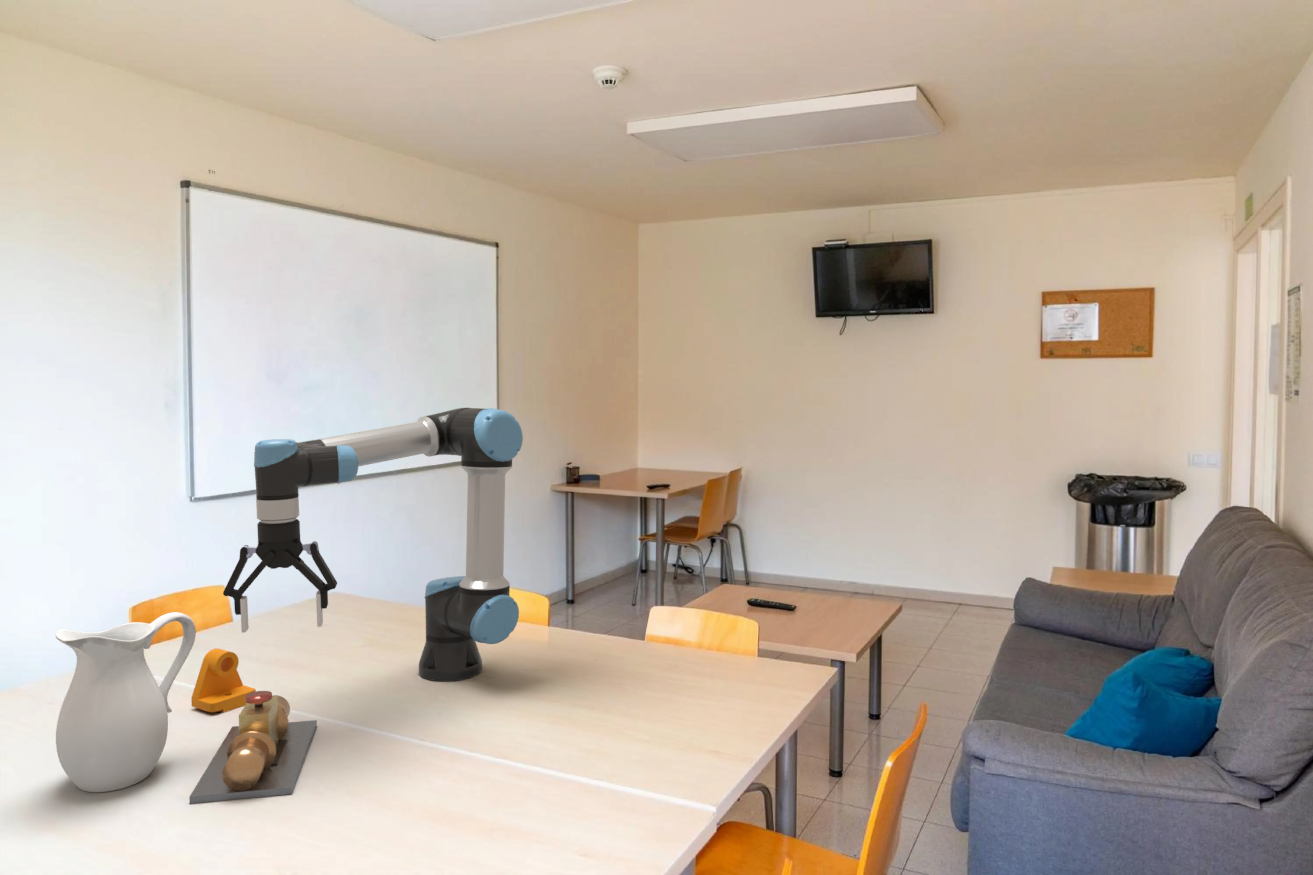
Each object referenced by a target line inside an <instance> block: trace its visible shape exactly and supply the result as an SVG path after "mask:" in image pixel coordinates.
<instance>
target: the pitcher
mask: <svg viewBox="0 0 1313 875" xmlns="http://www.w3.org/2000/svg"><path fill="white" fill-rule="evenodd" d="M173 622H178V623H180V625H181V627H182V634H183V635H182V641H181V644H180V647H179V650H178V651H177V655H176V656H175V658H174V660H173V661H172V663H171V666H170V668H169V669H168V671H167V673H166V674H165V675H164V677H163V679H162V681H161V683H160V685H159V684H158V682H157V680H156V678H155V677H154V674H153V673H152V670H150V667H149V665H148V663H147V661H146V658H145V652H144V651H145V650H147V649H148V650H149V649H150V648H151V645H152V640H153V638H154V636H155V635H156V634H157V633H158V632H159V631H160V630H161V629H162V628H164V626H166V625H168V624H170V623H173ZM196 634H197V630H196V625H195V622H194V621H193V619H192V618H191V617H190V616H189V615H187V614H185V613H183V612H176V611H175V612H173V611H172V612H168V613H164V614H163V615H160V616H158V617H157V618H156V619H154V620H153V621H151V622H150V623H147V622H138V621H137V622H134V621H133V622H127V623H124V624H120V625H116V626H114V627H111V628H109V629H106V630H102V631H94V632H93V631H89V632H87V631H79V630H71V629H67V628H66V629H64V628H63V629H61V628H60V629H59V630H57V631H56V633H55V638H56V639H57V640H58V641H60V642H61V643H62V644H64V645H66V646H67V647H69V648H71V649H72V651H73V652H74V653H75V656H76V666H75V669H74V670H75V671H74V673H73V674H74V675H73V676H72V679H71V682H70V685H69V687H68V689H67V692H66V694H65V696H64V698H63V699H64V700H63V701H62V705H61V707H60V711H59V714H58V718H57V723H56V729H55V730H56V731H55V745H56V746H55V747H56V753H57V757H58V761H59V763H60V765H61V768H62V769H63V771H64V773H65V774H66V776H67V778H69V780H70V781H71V782H72V783H73V784H74V785H75V786H76V787H77V788H78V789H80V790H82V791H84V792H89V793H107V792H112V791H118V790H121V789H126V788H128V787H131V786H133V785H136V784H137V783H140V782H141V781H144V780H145V779H146V778H147V777H149V775H150V774H151V773H152V772H153V770H154V769H155V767H156V766H157V764H158V762H159V760H160V758H161V757H162V753H163V751H164V748H165V746H166V742H167V739H168V738H167V737H168V733H169V731H168V729H169V717H168V716H169V715H168V714H169V713H172V711H173V710H172V708H171V707H170V705H169V702H168V695H169V692H170V689H171V687H172V685H173V683H174V681H175V679H176V677H177V676H178V674H179V673H180V670H181V668H182V667H183V665H184V664H185V662H186V660H187V658H188V657H189V654H190V652H191V651H192V649H193V646H194V643H195V640H196Z"/></svg>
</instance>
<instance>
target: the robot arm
mask: <svg viewBox="0 0 1313 875" xmlns="http://www.w3.org/2000/svg"><path fill="white" fill-rule="evenodd" d="M523 435H524V434H523V430H522V427H521V425H520V423H519V421H518V420H517V419H516V418H515V416H514V415H512V414H511V413H510V412H508V411H506V410H503V409H497V408H492V407H490V408H483V407H482V408H480V407H479V408H477V407H476V408H475V407H459V408H454V409H451V410H446V411H442V412H438V413H434V414H429V415H423V416H420V417H419V418H418V419H417V421H414V422H410V423H409V422H408V423H403V424H398V425H393V426H385V427H379V428H375V429H374V428H373V429H368V430H363V431H362V430H361V431H357V432H353V433H352V432H351V433H346V434H345V433H344V434H341V435H335V436H334V435H333V436H329V437H324V438H323V437H321V438H318V439H311V440H305V441H300V442H296V440H294V439H292V438H291V439H290V438H288V439H287V438H281V439H279V438H277V439H276V438H275V439H274V438H273V439H264V440H259V441H258V442H256V444H255V446H254V455H253V456H254V458H253V462H254V463H253V467H254V476H255V480H254V481H255V492H256V496H255V497H256V499H255V501H256V504H255V505H256V519H257V520H259V521H258V522H257V526H256V528H257V545H256V546H249V545H248V544H244V545H243V546H242V547H240V550H239V557H238V558H239V559H238V561H237V564H236V565H235V567H234V570H233V572H232V573H231V576H229V577H230V578H229V580H228V581H227V584H226V585H225V588H224V590H223V592H222V595H223V596H224V597H231V598H233V600H234V602H233V603H234V604H233V605H234V613H235V615H236V616H237V615H238V616H239V615H240V622H241V624H240V628H241V633H247V631H248V630H249V629H250V628H249V627H250V625H249V611H248V610H249V608H248V607H249V606H248V595H244V593H245V591H247V590H248V588H249V587H250V586H251V585H252V584H253V582H254V581H255V580H256V579H257V578H258V577H259V575H260V574H261V573H262V572H263V570H264V569H265V568H269V569H270V570H271V569H272V570H273V569H274V570H275V569H278V568H281V569H282V568H283V569H287V568H290V567H294V568H295V569H296V570H297V571H299V572H300V574H301V575H303V576H304V578H306V580H307V581H309V582H310V583H311V584H312V585H313V586H314V587H315V588H316V589H317V591H316V593H315V598H316V599H315V600H316V623H317V624H316V626H317V628H320V627H321V628H322V626H323V623H324V617H323V612H324V611H323V609H327V607H328V606H329V598H328V597H329V594H328V592H329V591H331V590H334V589H336V587H337V585H338V581H337V580H336V578H335V577H334V575H333V573H332V571H331V569H330V568H329V566H328V563H326V561H325V560H324V558H323V556H322V555H321V553H320V550H319V549H320V548H319V543H318V542H317V541H315V540H314V541H312V542H311V543H305V544H303V543H302V540H301V523H300V520H299V519H298V517H299V516H300V504H299V503H300V500H299V496H300V495H299V493H300V492H299V487H302V488H303V487H307V486H308V487H309V486H319V485H330V484H331V485H333V484H341V483H345V482H350V481H353V480H354V479H355V478H356V477H357V474H358V471H359V467H363V466H368V465H374V464H379V463H382V462H388V461H394V460H399V459H403V458H407V457H408V458H409V457H413V456H417V455H425V457H428V458H429V457H434V456H441V455H443V456H444V455H446V456H448V455H449V456H460V458H461V461H460V464H461V466H460V467H461V468H462V469H463V471H465V473H467V493H466V494H467V495H466V496H467V501H466V502H467V504H466V506H467V507H466V550H465V551H466V553H465V556H466V557H465V558H466V559H465V575H460V576H450V577H442V578H437V579H434V580H430V581H429V582H427V584H426V585H425V593H424V600H425V604H424V605H425V607H424V608H425V643H424V647H423V650H422V653H421V656H420V659H419V662H418V675H419V676H420V677H421V678H423V679H426V680H429V681H435V682H436V681H438V682H451V681H452V682H453V681H458V680H459V681H460V680H465V679H469V678H472V677H474V676H475V677H476V676H477V675H479V674H480V673H481V672H482V670H483V660H482V657H481V654H480V651H479V647H478V645H477V643H480V644H487V645H495V644H499V643H501V642H504V641H505V640H506V639H508V638H509V637H510V634H511V633H513V632H514V630H515V629H516V627H517V624H518V622H519V618H520V616H519V615H520V609H519V606H518V603H517V601H516V600H515V599H514V598H513V597H512V596H510V592H511V591H510V589H511V588H510V586H511V583H510V581H509V580H508V579H507V578H506V577H505V576H504V564H505V563H504V558H505V555H504V554H505V551H504V550H505V514H506V513H505V510H506V509H505V508H506V506H505V505H506V504H505V503H506V476H507V473H508V472H509V471H510V470H511V469H512V468H513V459H514V458H515V457H517V455H518V453H519V452H520V451H521V448H522V445H523V440H524V437H523ZM303 551H305V552H306V554H307V555H309V556H311V558H312V560H313V562H314V564H315V565H316V567H317V568H318V570H319V572H320V574H321V575H322V577H323V578H324V580H325V581H323V579H321V578H320V577H319V576H318V575H317V574H316V573H315V572H314V571H313V570H312V569H311V568H310V567H309V566H308V564H306V563H305V561H304V560H303V559H302V558H301V554H302V553H303ZM253 554H256V555H257V557H258V559H260V561H261V562H259V563H258V565H257V566H256V567H255V568H254V570H253V571H252V572H251V573H250V574H249V576H248V577H247V578H246V579H245V580H244V582H243V583H242V584H241V585H240V587H239V588H238V589H236V588H235V587H236V584H237V583H238V580H239V578H240V577H241V574H242V572H243V571H244V568H245V566H246V564H247V562H248V560H249V559H251V558H252V556H253Z"/></svg>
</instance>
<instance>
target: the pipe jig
mask: <svg viewBox="0 0 1313 875" xmlns="http://www.w3.org/2000/svg"><path fill="white" fill-rule="evenodd" d="M274 696H278V736H279V742H278V744H277V747H276V745H275V742H274V740H273V739H272V738H271V737H270V736H269V735H268V734H266V733H265V732H262V731H258V730H250V731H246V732H243V733H241V734H239V725H237V726H235V725H234V726H231V728H230V730H229V731H228V733H227V735H226V736H225V738H224V739H223V741H222V743H221V744H220V746H219V747H218V749H217V751H216V753H215V754H214V755H213V757H212V759H211V761H210V762H209V764H208V765H207V767H206V769H205V770H204V771H203V773H202V775H201V777H200V778H199V780H198V781H197V783H196V785H195V787H194V788H193V790H192V792H191V793H190V794H189V798H188V799H189V804H200V803H201V804H202V803H211V802H223V801H233V800H242V799H243V800H244V799H253V798H256V799H257V798H265V797H267V798H268V797H276V796H277V797H278V796H287V795H292V794H293V791H294V789H295V786H296V783H297V780H298V778H299V775H300V772H301V770H302V767H303V764H304V761H305V759H306V756H307V754H308V751H309V748H310V745H311V742H312V740H313V737H314V734H315V732H316V729H317V726H318V724H317V722H318V721H317V720H316V719H315V720H314V719H313V720H305V721H303V720H301V721H290V722H289V718H288V717H289V715H290V712H291V707H290V703H289V700H287V699H286V698H285V697H283V696H281V695H276V694H275V695H273V694H272V697H274Z"/></svg>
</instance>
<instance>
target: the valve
mask: <svg viewBox="0 0 1313 875" xmlns="http://www.w3.org/2000/svg"><path fill="white" fill-rule="evenodd" d="M272 696H273V692H272V691H270V690H257V691H256V692H252V693H249V694H247V695H246V696H245V702H246V705H245V706H243V708H242V709H241V711H240V713H239V714H238V726H239V734H241V733H243V732H246V731H250V730H258V731H262V732H265V733H266V734H268V735H269V736H270V737H271V738H272V739H273V740H274V742H275V745H276V747H277V744H278V742H279V736H278V696H279V695H278V696H274V697H272Z"/></svg>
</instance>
